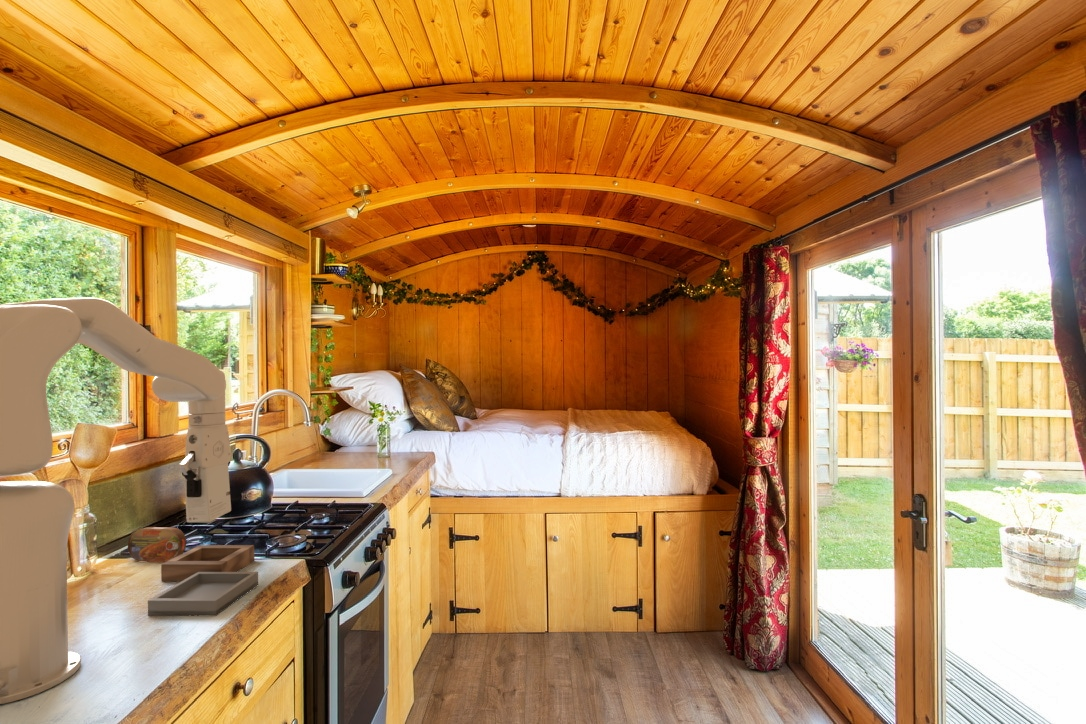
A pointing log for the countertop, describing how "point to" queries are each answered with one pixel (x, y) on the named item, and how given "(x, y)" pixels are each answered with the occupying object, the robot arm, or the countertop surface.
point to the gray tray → (202, 594)
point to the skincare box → (209, 494)
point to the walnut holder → (207, 561)
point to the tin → (156, 544)
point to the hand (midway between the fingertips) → (207, 492)
